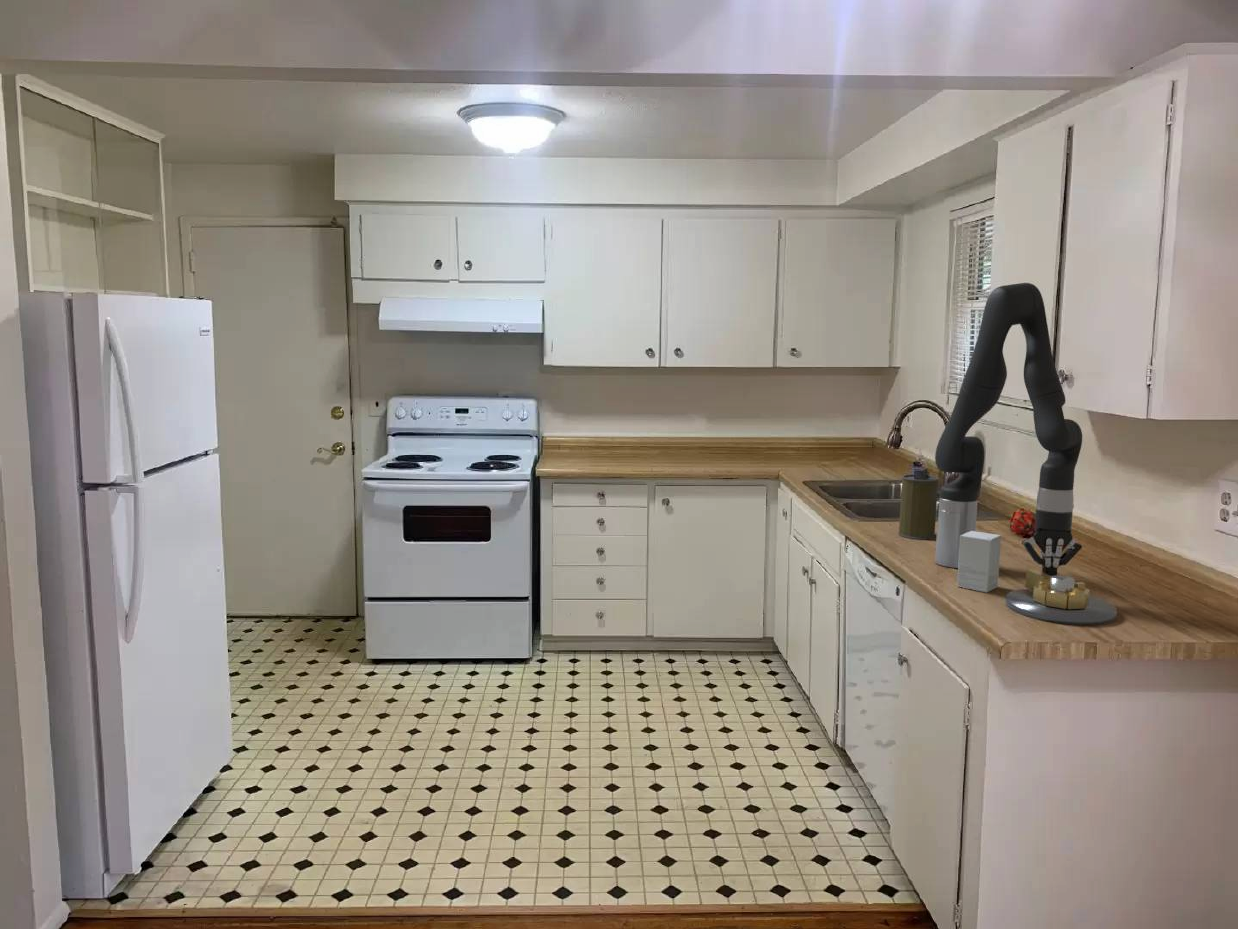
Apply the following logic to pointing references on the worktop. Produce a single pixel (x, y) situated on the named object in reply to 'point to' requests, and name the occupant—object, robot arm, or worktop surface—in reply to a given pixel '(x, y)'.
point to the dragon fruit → (1022, 522)
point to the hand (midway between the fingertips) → (1048, 582)
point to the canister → (918, 505)
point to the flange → (1091, 615)
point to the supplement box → (979, 561)
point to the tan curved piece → (1056, 592)
